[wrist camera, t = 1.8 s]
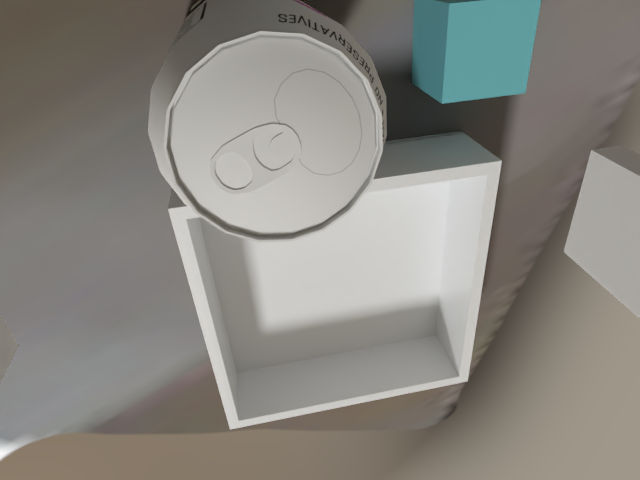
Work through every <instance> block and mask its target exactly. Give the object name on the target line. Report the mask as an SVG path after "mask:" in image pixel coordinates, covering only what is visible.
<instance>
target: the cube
mask: <svg viewBox="0 0 640 480" xmlns="http://www.w3.org/2000/svg"><path fill="white" fill-rule="evenodd" d="M540 4H541V0H414V24H413V51H412V78H411V83H412V84H414V85H415V86H417V87H418V88H420V89H421V90H422V91H424V92H425V93H427V94H428V95H430V96H431V97H433V98H434V99H436V100H437V101H439V102H440V103H441V104H444V103H452V102H460V101H468V100H476V99H484V98H491V97H499V96H507V95H515V94H523V93H525V92H526V86H527V80H528V74H529V69H530V63H531V57H532V51H533V45H534V39H535V33H536V27H537V22H538V16H539V10H540Z"/></svg>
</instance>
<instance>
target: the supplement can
mask: <svg viewBox="0 0 640 480" xmlns="http://www.w3.org/2000/svg"><path fill="white" fill-rule="evenodd" d="M148 134H149V137H150V141H151V144H152V147H153V150H154V154H155V157H156V160H157V163H158V166H159V170H160V172H161V174H162V175H163V176H164V178H165V179H166V180H167V182H168V183H169V184H170V186H171V187H172V188H173V190H174V191H175V192H176V193H177V195H178V196H179V197H180V199H181V200H182V201H183V203H184V204H185V205H187V206H188V207H190V208H191V209H192V210H193V211H194V212H195V214H197V215H198V216H200V217H201V218H203V219H204V220H206V221H207V222H209V223H210V224H212V225H213V226H215V227H216V228H218V229H219V230H221V231H222V232H224V233H226V234H230V235H233V236H237V237H241V238H244V239H248V240H251V241H255V242H287V241H295V240H298V239H301V238H303V237H306V236H309V235H312V234H315V233H318V232H321V231H324V230H326V229H327V228H328V227H330V226H331V225H333V224H334V223H335V222H337V221H338V220H339V219H341V218H342V217H344V216H345V215H346V214H348V213H349V212H351V211H352V210H353V208H354V207H355V206H356V204H357V203H358V202H359V200H360V199H361V198H362V196H363V195H364V194H365V192H366V191H367V190H368V188H369V187H370V186H371V184H372V182H373V179H374V176H375V173H376V170H377V167H378V164H379V161H380V158H381V155H382V152H383V146H384V143H385V140H386V137H387V115H386V94H385V92H384V89H383V87H382V84H381V81H380V79H379V76H378V74H377V71H376V69H375V66H374V63H373V61H372V58H371V57H370V56H369V54H368V53H367V52H366V51H365V50H364V49H363V48H362V47H361V46H360V44H359V43H358V42H357V41H356V40H355V39H354V38H353V37H352V36H351V34H350V33H349V32H348V31H347V30H346V29H345V28H344V27H343V26H342V25H341V24H340V23H338V22H336V21H334V20H333V19H331V18H329V17H328V16H326V15H324V14H322V13H321V12H319V11H317V10H316V9H314V8H312V7H311V6H309V5H307V4H305V3H304V2H302V1H300V0H199V1H198V2H197V3H195V4H194V5H193V6H192V8H191V10H190V12H189V14H188V15H187V17H186V19H185V21H184V23H183V25H182V27H181V29H180V31H179V33H178V35H177V37H176V39H175V41H174V43H173V45H172V47H171V49H170V51H169V53H168V55H167V57H166V59H165V61H164V63H163V65H162V67H161V69H160V71H159V73H158V75H157V77H156V79H155V82H154V84H153V86H152V88H151V96H150V110H149V124H148Z"/></svg>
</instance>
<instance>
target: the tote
mask: <svg viewBox="0 0 640 480" xmlns="http://www.w3.org/2000/svg"><path fill="white" fill-rule="evenodd" d="M501 163H502V160H500V159H499V158H498V157H496V156H495V155H493V154H492V153H491V152H489V151H488V150H487V149H485V148H484V147H483V146H481V145H480V144H479V143H477V142H476V141H474V140H473V139H472V138H470V137H469V136H468V135H466V134H465V133H464V132H462V131H458V132H450V133H443V134H436V135H428V136H421V137H413V138H406V139H399V140H391V141H385V143H384V146H383V152H382V155H381V158H380V161H379V164H378V167H377V170H376V173H375V176H374V179H373V182H372V184H371V186H370V187H369V188H368V190H367V191H366V192H365V194H364V195H363V196H362V198H361V199H360V200H359V202H358V203H357V204H356V206H355V207H354V208H353V210H352V211H351V212H349V213H348V214H346V215H345V216H344V217H342V218H341V219H339V220H338V221H337V222H335V223H334V224H333V225H331V226H330V227H328V228H327V229H326V230H324V231H321V232H318V233H315V234H312V235H309V236H306V237H303V238H301V239H298V240H295V241H287V242H255V241H251V240H248V239H244V238H241V237H237V236H233V235H230V234H226V233H224V232H222V231H221V230H219V229H218V228H216V227H215V226H213V225H212V224H210V223H209V222H207V221H206V220H204V219H203V218H201V217H200V216H198V215H197V214H195V212H194V211H193V210H192V209H191V208H190V207H188V206H187V205H185V204H184V203H183V201H182V200H181V199H180V197H179V196H178V195H177V193H176V192H175V191H174V190H173V188H172V192H171V197H170V202H169V207H168V211H169V214H170V218H171V221H172V225H173V228H174V232H175V235H176V239H177V243H178V246H179V250H180V253H181V257H182V260H183V264H184V267H185V271H186V275H187V278H188V282H189V285H190V289H191V292H192V296H193V299H194V303H195V307H196V310H197V314H198V317H199V321H200V324H201V328H202V331H203V335H204V339H205V342H206V346H207V349H208V353H209V356H210V360H211V363H212V367H213V371H214V374H215V378H216V381H217V385H218V388H219V392H220V395H221V399H222V403H223V406H224V410H225V413H226V417H227V420H228V424H229V427H230V429H235V428H240V427H245V426H250V425H255V424H260V423H264V422H269V421H274V420H279V419H284V418H289V417H294V416H299V415H304V414H309V413H314V412H319V411H324V410H328V409H333V408H338V407H343V406H348V405H353V404H358V403H363V402H368V401H373V400H378V399H383V398H388V397H392V396H397V395H402V394H407V393H412V392H417V391H422V390H427V389H432V388H437V387H442V386H447V385H452V384H456V383H461V382H466V381H468V375H469V369H470V362H471V356H472V349H473V343H474V337H475V330H476V324H477V317H478V311H479V305H480V298H481V292H482V285H483V279H484V272H485V266H486V260H487V253H488V247H489V240H490V234H491V228H492V221H493V215H494V208H495V202H496V196H497V189H498V183H499V176H500V170H501Z"/></svg>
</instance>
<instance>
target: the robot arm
mask: <svg viewBox="0 0 640 480" xmlns="http://www.w3.org/2000/svg"><path fill="white" fill-rule="evenodd" d="M564 253H566V254H567V255H568V256H569V257H570V258H571V259H573V260H574V261H575V262H576V263H577V264H578V265H579V266H580V267H581V268H583V269H584V270H585V271H586V272H587V273H588V274H589V275H591V276H592V277H593V278H594V279H595V280H596V281H597V282H598V283H600V284H601V285H602V286H603V287H604V288H605V289H607V290H608V291H609V292H610V293H611V294H612V295H613V296H614V297H616V298H617V299H618V300H619V301H620V302H621V303H622V304H624V305H625V306H626V307H627V308H628V309H629V310H630V311H631V312H632V313H634V314H635V315H636V316H637V317H638V318H639V319H640V154H639V153H637V152H635V151H633V150H631V149H629V148H627V147H624V146H616V147H609V148H602V149H595V150H591V153H590V157H589V161H588V164H587V168H586V172H585V175H584V179H583V183H582V186H581V190H580V194H579V197H578V202H577V205H576V209H575V212H574V216H573V219H572V223H571V227H570V230H569V234H568V238H567V241H566V245H565V249H564ZM18 346H19V345H18V343H17V341H16V340H15V338H14V336H13V335H12V333H11V331H10V330H9V328H8V326H7V325H6V323H5V321H4V320H3V318H2V316H1V315H0V382H1V380H2V378H3V376H4V374H5V372H6V370H7V368H8V366H9V364H10V362H11V360H12V358H13V356H14V354H15V352H16V350H17V348H18Z"/></svg>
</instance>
